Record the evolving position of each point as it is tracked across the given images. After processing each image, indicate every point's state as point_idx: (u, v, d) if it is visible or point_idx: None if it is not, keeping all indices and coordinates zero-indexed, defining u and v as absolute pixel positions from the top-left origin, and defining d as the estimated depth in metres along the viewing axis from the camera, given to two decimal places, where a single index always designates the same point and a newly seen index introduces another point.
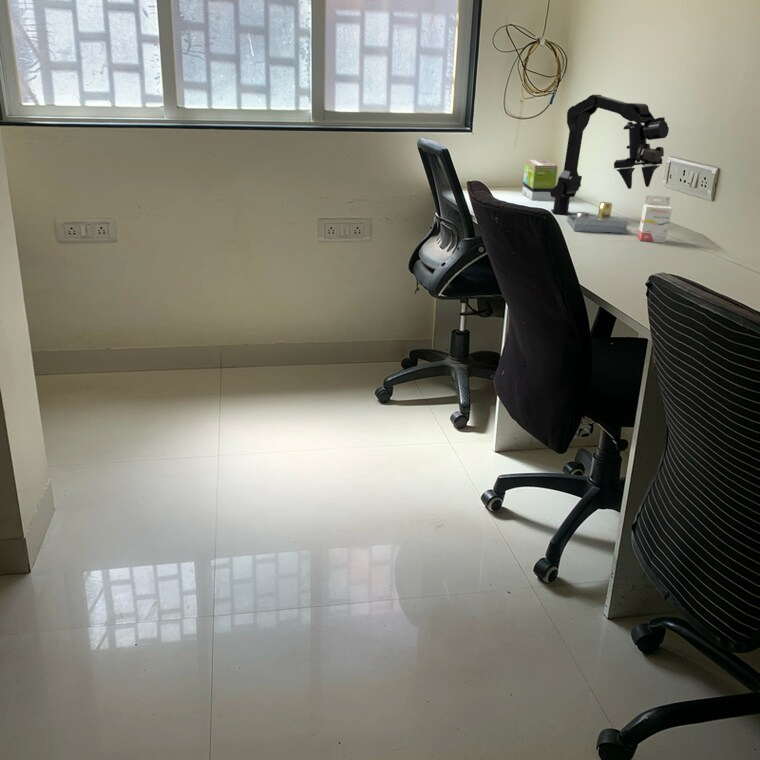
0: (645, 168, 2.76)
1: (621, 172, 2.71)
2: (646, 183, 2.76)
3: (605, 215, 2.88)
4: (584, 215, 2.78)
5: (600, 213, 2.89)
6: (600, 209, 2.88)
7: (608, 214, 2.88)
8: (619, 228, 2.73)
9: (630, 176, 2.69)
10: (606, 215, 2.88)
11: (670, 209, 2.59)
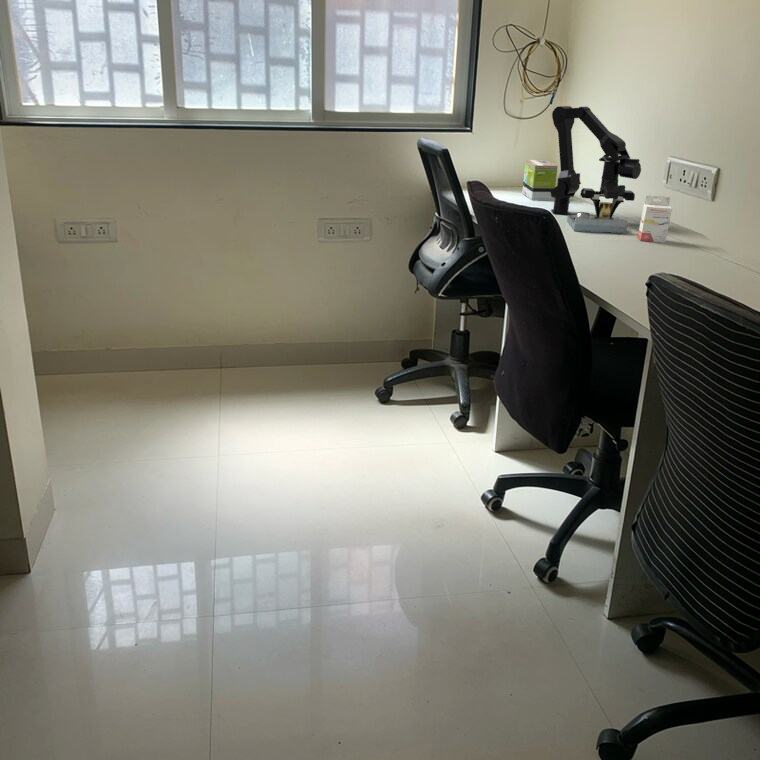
0: (613, 200, 2.89)
1: (593, 200, 2.90)
2: (610, 215, 2.90)
3: (605, 215, 2.88)
4: (584, 215, 2.78)
5: (600, 213, 2.89)
6: (600, 209, 2.88)
7: (608, 214, 2.88)
8: (619, 228, 2.73)
9: (597, 206, 2.88)
10: (606, 215, 2.88)
11: (670, 209, 2.59)
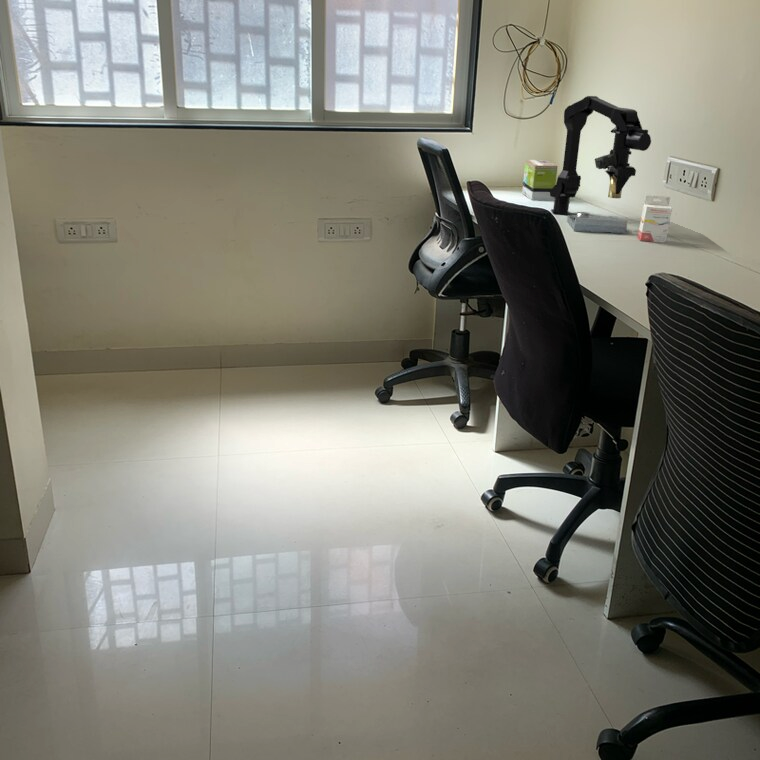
0: None
1: None
2: None
3: (609, 189, 2.76)
4: (584, 215, 2.78)
5: None
6: None
7: (611, 188, 2.75)
8: (619, 228, 2.73)
9: (610, 179, 2.78)
10: (609, 188, 2.76)
11: (670, 209, 2.59)
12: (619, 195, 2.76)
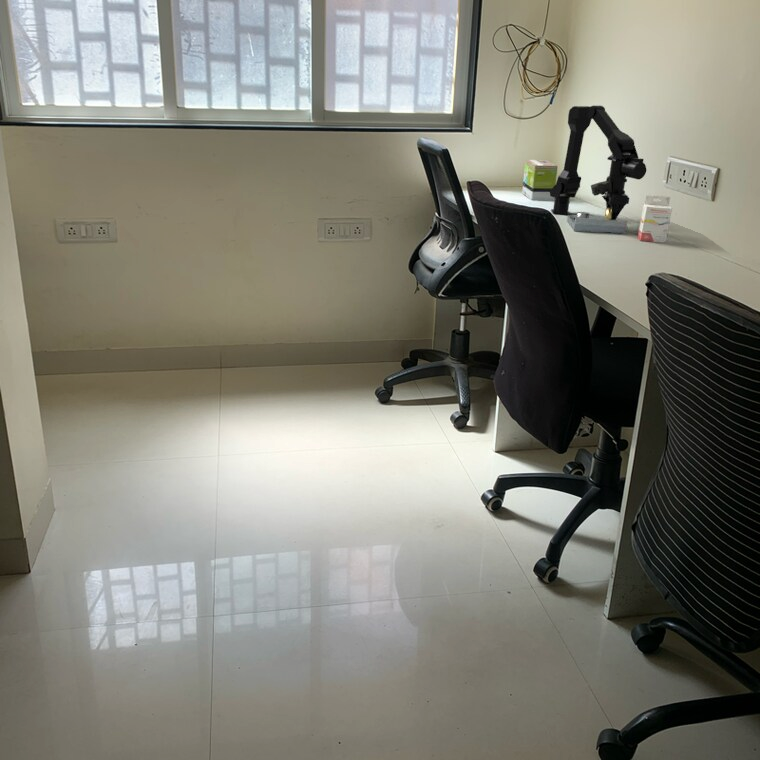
0: None
1: None
2: None
3: None
4: (584, 215, 2.78)
5: None
6: None
7: None
8: (619, 228, 2.73)
9: (606, 204, 2.82)
10: None
11: (670, 209, 2.59)
12: None
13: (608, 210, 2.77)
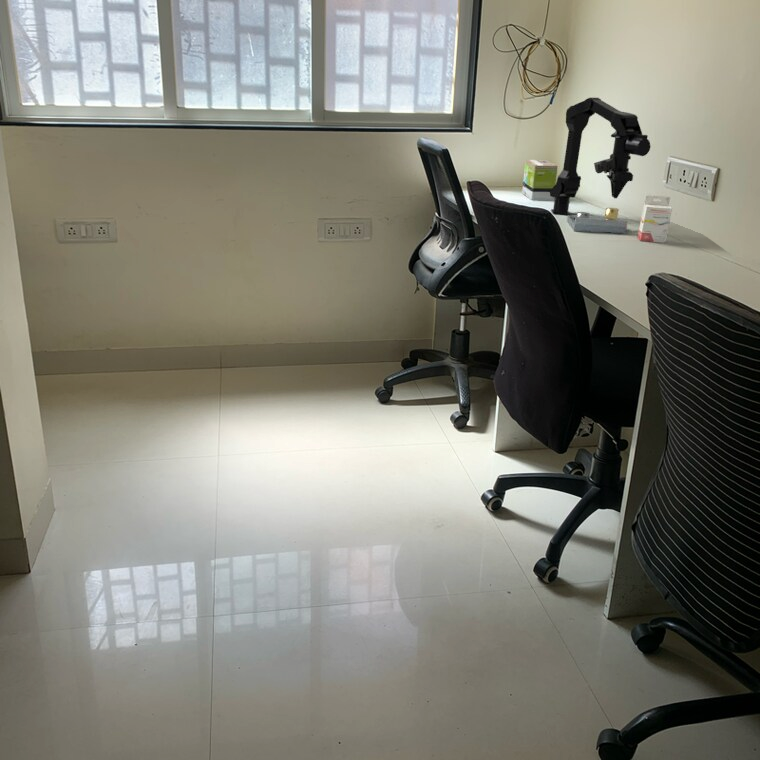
0: None
1: None
2: None
3: None
4: (584, 215, 2.78)
5: None
6: None
7: None
8: (619, 228, 2.73)
9: (611, 184, 2.77)
10: None
11: (670, 209, 2.59)
12: None
13: (608, 210, 2.77)
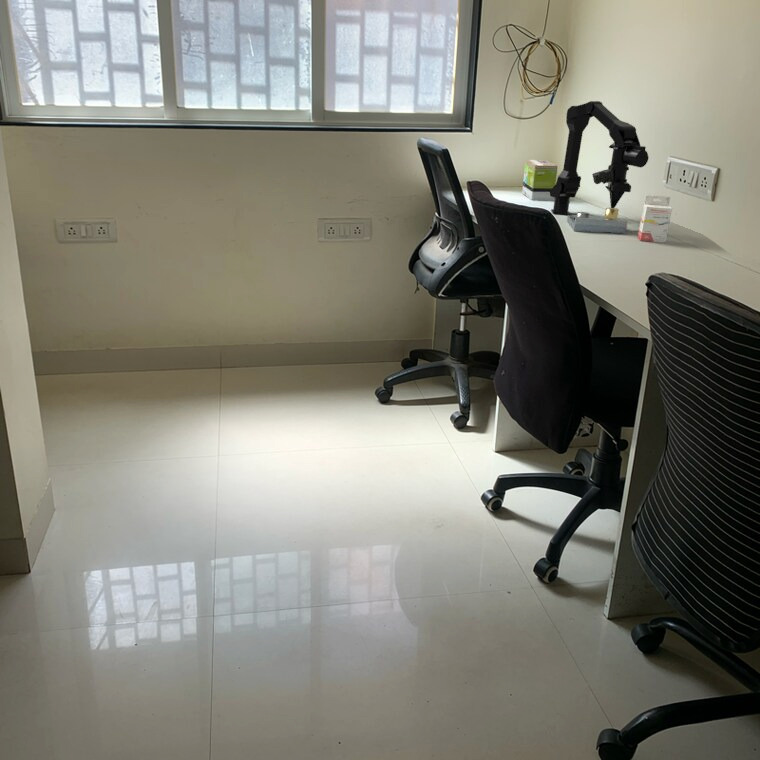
0: None
1: None
2: None
3: None
4: (584, 215, 2.78)
5: None
6: None
7: None
8: (619, 228, 2.73)
9: (610, 195, 2.77)
10: None
11: (670, 209, 2.59)
12: None
13: (608, 210, 2.77)
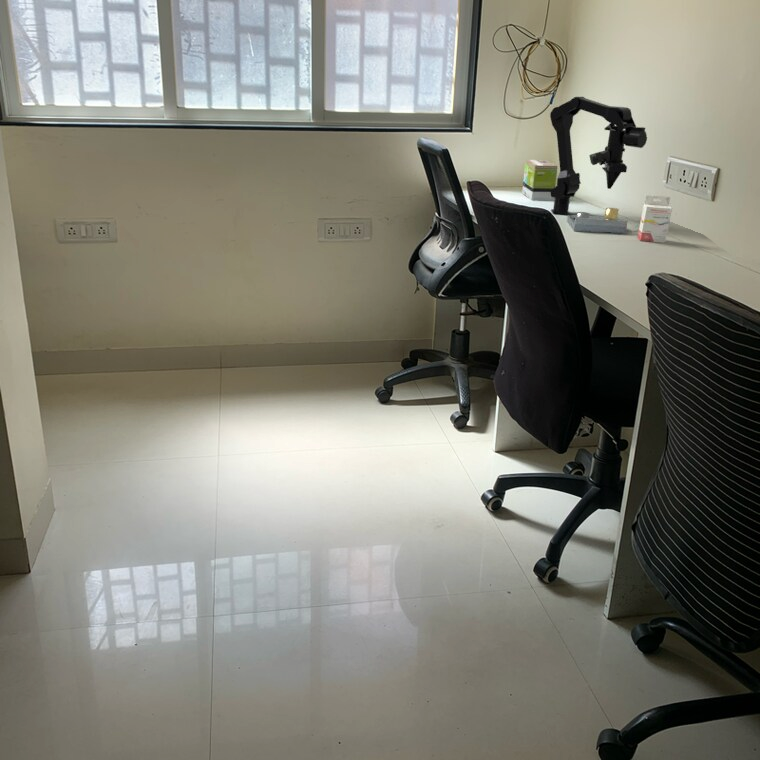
0: None
1: None
2: None
3: None
4: (584, 215, 2.78)
5: None
6: None
7: None
8: (619, 228, 2.73)
9: (606, 176, 2.84)
10: None
11: (670, 209, 2.59)
12: None
13: (608, 210, 2.77)
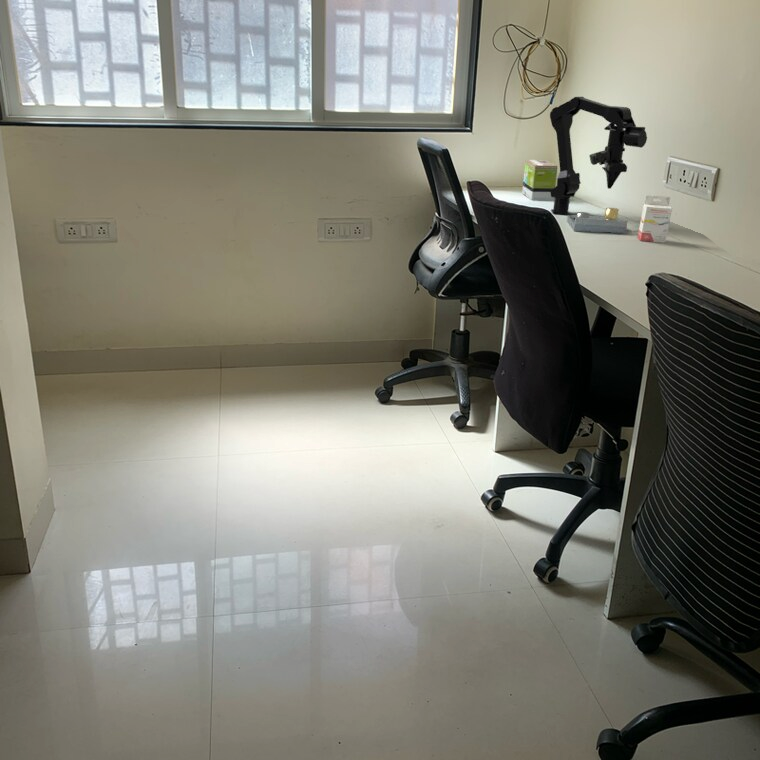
0: None
1: None
2: None
3: None
4: (584, 215, 2.78)
5: None
6: None
7: None
8: (619, 228, 2.73)
9: (607, 175, 2.84)
10: None
11: (670, 209, 2.59)
12: None
13: (608, 210, 2.77)
